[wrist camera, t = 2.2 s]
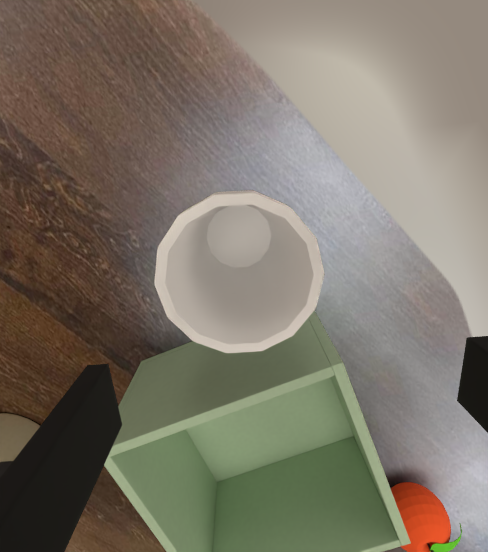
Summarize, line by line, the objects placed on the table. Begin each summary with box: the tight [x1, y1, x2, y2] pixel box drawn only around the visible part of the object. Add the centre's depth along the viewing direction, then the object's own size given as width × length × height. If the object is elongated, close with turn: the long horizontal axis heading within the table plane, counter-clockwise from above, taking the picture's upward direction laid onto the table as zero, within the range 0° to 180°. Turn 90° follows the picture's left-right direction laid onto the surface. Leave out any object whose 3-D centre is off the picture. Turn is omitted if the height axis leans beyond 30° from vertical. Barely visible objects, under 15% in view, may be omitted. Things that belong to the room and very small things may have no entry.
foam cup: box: [154, 190, 325, 353], centre depth 24 cm, size 10×9×13 cm
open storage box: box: [104, 311, 411, 552], centre depth 30 cm, size 19×19×12 cm
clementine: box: [391, 482, 462, 552], centre depth 37 cm, size 8×7×7 cm
